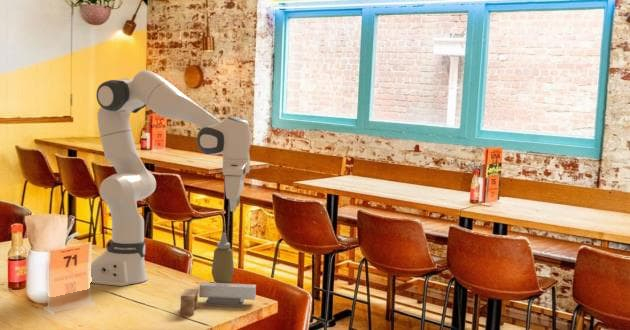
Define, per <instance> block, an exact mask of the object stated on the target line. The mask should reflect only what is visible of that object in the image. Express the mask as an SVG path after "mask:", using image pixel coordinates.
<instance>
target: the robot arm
mask: <svg viewBox="0 0 630 330" xmlns="http://www.w3.org/2000/svg"><path fill="white" fill-rule="evenodd" d="M95 96H96V100H97V103H98V105H99V109H98V111H97V126H98V127H97V128H98V133H99V137H100V142H101V146H102V150H103V153H104V157H105V159H106V160H107V162H109V163H110V164H111V165H112V167H113V168H114V170H115V172H116V173H114V174H112V175H110V176H108V177H107V178H104V179H103V180H102V181H101V184H100V185H99V194H100V197H101V199H102V200H103V202H104V203H106V205H107V207H108V209H109V210H108V211H109V213H110V217H111V231H112V232H111V238H110V239H108V241H107V242H106V243H105V249H106V250H105V251H104V252H102V253H101V254H100V255H99V256H97V257H96V258H94V259H93V261H92V262H91V264H90V266H91V277H92V283H91V284H97V285H98V284H99V285H106V286H107V285H111V286H116V287H123V286H127V285H132V284H140V283H143V282H145V281H147V280H148V278H149V276H148V274H147V270H146V263H145V255H146V240H145V219H144V217H143V216H142V215H141V214H140V212H139V209H138V204H137V203H138V201H142V200H145V199H147V198H148V197H150V196H151V195H152V194H153V193H154V192H155V191H156V188H157V180H156V178H155V176H154V175H153V174H152V172H150V171H149V170H148V169H147V168H146V166H145V165H144V163H143V161H142V159H141V157H140V155H139V153H138V150H137V145H136V142H135V139H134V134H133V131H132V127H131V123H130V116H131V113H133V114H137V113H138V112H139V111H141V110H142V109H144V108H145V107H148V108H149V109H150V110H151V111H152V112H153V113H155V114H157V115H158V116H161V117H163V118H164V119H169V120H170V119H171V120H179V121H185V122H189V123H191V124H194V125H195V126H197V127H198V128H199V131H198V133H197V136H196V145H197V148H198V150H199V151H200V152H201V153H203V154H205V155H209V156H214V155H221V156H222V168H221V169H222V170H221V171H222V175H223V176H224V187H225V188H224V189H225V197H226V199H227V200H229V211H230V212H234V213H235V212H236V211H237V207H239V206H240V199H241V194H242V193H243V192H244V189H245V178H246V174H249V173H250V167H251V166H250V165H251V157H250V148H251V127H250V122H249V121H248V120H246V119H245V118H242V117H239V116H238V117H237V116H227V117H225V118H224V119H223V120H221V118H218V117H217V116H216V115H214V114H213V113H211V112H210V111H209V110H207V109H206V108H204V107H203V106H201V105H200V104H198V103H197V102H195V101H194V100H192V98H190V97H189V96H187V95H186V94H184V93H183V92H182V91H181V90H179V89H178V88H177V87H176V86H175V85H173V84H172V83H171V82H170V81H168V80H167V79H165V78H164V77H162V76H161V75H159V74H157V72H156V73H155V72H154V71H152V70H149V69H144V70H141V71H139V72H138V73H136V74H135V75H134V76H133V78H121V79H110V80H105V81H103V82H102V83H101V84H99V85H98V87H97V90H96V95H95Z"/></svg>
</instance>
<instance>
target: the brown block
mask: <svg viewBox="0 0 630 330" xmlns="http://www.w3.org/2000/svg"><path fill="white" fill-rule="evenodd" d="M198 293H199V290H198V289H197V288H185V289H184V291H183V292H182V293H181V295H180V314H179V315H180V316H194V315H195V310H197V309H198V301H199V300H198V297H199V294H198Z"/></svg>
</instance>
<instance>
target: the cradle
mask: <svg viewBox="0 0 630 330" xmlns="http://www.w3.org/2000/svg"><path fill="white" fill-rule="evenodd" d="M244 301H245V299H226V298H207V299H206V300H205V303H204V307H219V306H222V308H242V307H243V304H244ZM223 306H224V307H223Z"/></svg>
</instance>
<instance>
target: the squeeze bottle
mask: <svg viewBox="0 0 630 330" xmlns="http://www.w3.org/2000/svg"><path fill="white" fill-rule="evenodd" d="M226 234H227V233H226V232H222V233H221V237H220V240H219V241H218V242H217V243H216V248H215V249H214V251H213V259H212V266H211V275H212V278H213V279H212V280H213V283H229V284H231V282H232V279H233V275H234V273H235V269H234V268H235V267H234V266H235V265H234V255H233V252H234V251H233V249H232V248H231V243H230V242H228V239H227V235H226Z"/></svg>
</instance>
